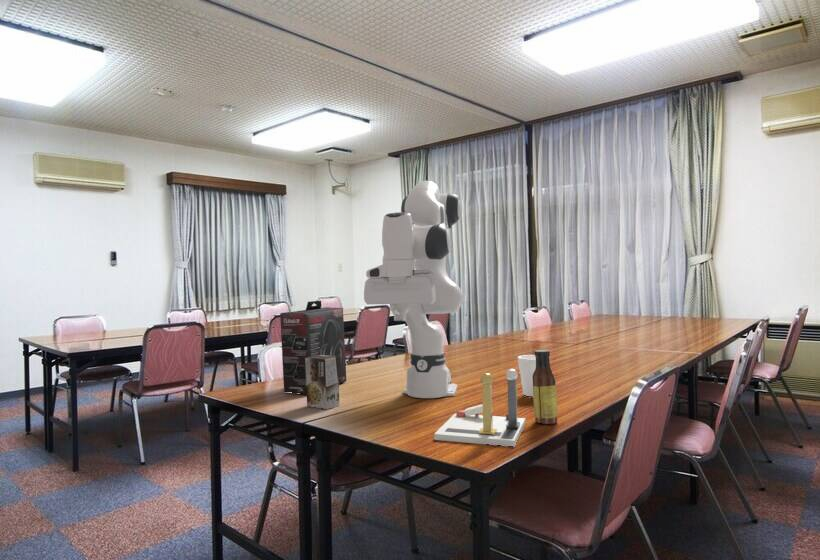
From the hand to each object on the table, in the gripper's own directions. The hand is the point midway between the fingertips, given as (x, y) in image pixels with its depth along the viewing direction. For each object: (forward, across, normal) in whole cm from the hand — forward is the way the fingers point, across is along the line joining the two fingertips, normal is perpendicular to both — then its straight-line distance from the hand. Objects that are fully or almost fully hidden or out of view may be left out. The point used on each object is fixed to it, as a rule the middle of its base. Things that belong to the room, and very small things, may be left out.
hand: (400, 320), depth 141 cm
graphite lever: (+27, -30, -2) cm, 41 cm away
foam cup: (+29, -30, -45) cm, 62 cm away
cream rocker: (+26, -19, -8) cm, 33 cm away
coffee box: (+29, +33, -14) cm, 46 cm away
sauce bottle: (+29, -37, -14) cm, 49 cm away
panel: (+29, -22, -1) cm, 36 cm away
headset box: (+29, +50, -38) cm, 69 cm away
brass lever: (+27, -25, +5) cm, 37 cm away
